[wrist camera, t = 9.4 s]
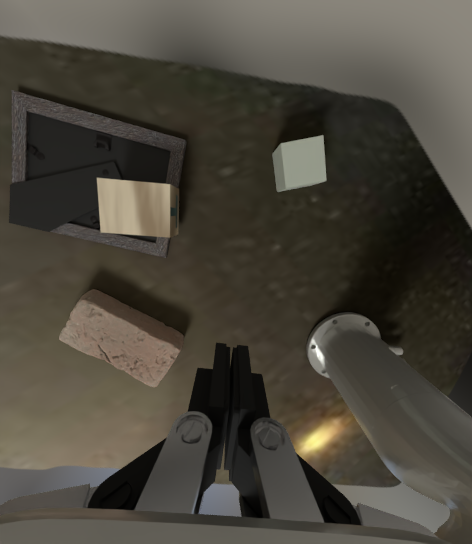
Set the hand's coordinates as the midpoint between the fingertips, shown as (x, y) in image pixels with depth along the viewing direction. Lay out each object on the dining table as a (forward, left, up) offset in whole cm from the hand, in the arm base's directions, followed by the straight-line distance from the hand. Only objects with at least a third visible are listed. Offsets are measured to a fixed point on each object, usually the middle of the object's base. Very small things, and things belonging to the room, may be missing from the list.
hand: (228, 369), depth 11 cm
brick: (+15, +13, -24) cm, 31 cm away
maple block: (+7, -7, -20) cm, 22 cm away
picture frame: (+18, -10, -25) cm, 32 cm away
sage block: (-8, -14, -24) cm, 29 cm away
